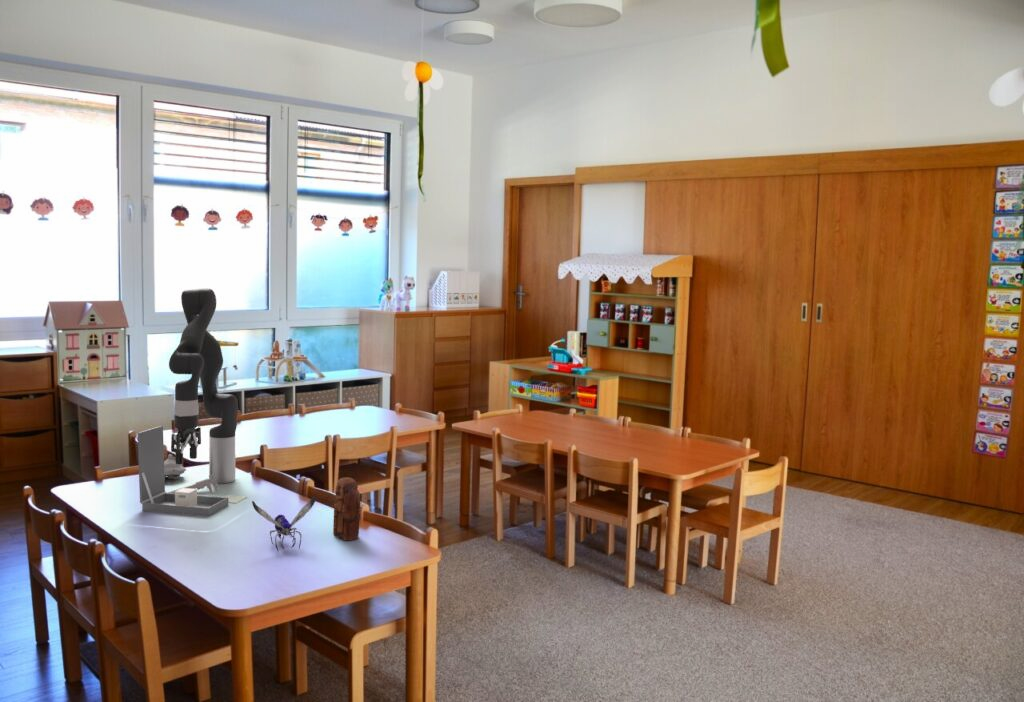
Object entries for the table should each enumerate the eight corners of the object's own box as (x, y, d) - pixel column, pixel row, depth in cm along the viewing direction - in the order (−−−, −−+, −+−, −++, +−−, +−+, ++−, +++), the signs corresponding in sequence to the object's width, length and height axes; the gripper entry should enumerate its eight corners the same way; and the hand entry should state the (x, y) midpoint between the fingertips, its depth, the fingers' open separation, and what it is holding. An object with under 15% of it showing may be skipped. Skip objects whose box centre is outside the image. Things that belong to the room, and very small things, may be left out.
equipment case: (160, 500, 281) (160, 425, 278) (228, 506, 277) (228, 430, 275) (137, 511, 268) (137, 432, 265) (208, 517, 264) (208, 437, 262)
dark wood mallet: (327, 532, 254) (328, 475, 253) (346, 528, 258) (347, 473, 257) (344, 542, 245) (345, 484, 243) (363, 539, 249) (365, 481, 247)
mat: (225, 496, 289) (225, 494, 289) (247, 498, 288) (247, 496, 288) (214, 502, 281) (214, 500, 281) (236, 504, 280) (236, 502, 280)
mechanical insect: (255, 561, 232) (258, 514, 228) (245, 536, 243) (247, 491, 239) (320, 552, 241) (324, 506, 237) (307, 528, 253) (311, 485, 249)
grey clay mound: (159, 482, 314) (163, 454, 316) (190, 484, 314) (193, 456, 316) (145, 481, 302) (149, 452, 305) (176, 482, 302) (180, 453, 304)
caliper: (216, 490, 297) (216, 473, 296) (217, 491, 296) (217, 474, 296) (156, 499, 284) (156, 480, 283) (157, 499, 283) (157, 481, 282)
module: (183, 505, 275) (183, 487, 275) (197, 506, 275) (197, 488, 274) (174, 509, 270) (174, 491, 270) (189, 510, 269) (189, 492, 269)
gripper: (187, 409, 277) (187, 456, 278) (163, 415, 263) (163, 465, 264) (208, 410, 276) (207, 457, 277) (185, 417, 262) (185, 466, 263)
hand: (186, 461), depth 271 cm, fingers open, 8 cm apart
